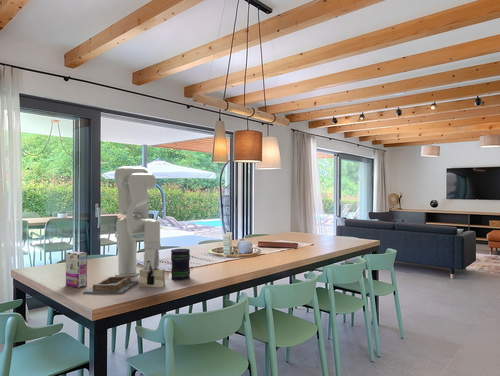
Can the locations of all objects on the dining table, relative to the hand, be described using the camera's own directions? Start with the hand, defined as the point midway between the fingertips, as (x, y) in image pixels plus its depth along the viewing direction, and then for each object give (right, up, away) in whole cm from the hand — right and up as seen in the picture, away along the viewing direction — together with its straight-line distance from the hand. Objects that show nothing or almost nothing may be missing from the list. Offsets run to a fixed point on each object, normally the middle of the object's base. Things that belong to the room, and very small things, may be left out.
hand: (152, 282), depth 175 cm
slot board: (-18, -2, -3) cm, 18 cm away
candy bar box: (-38, -2, +2) cm, 38 cm away
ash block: (0, -2, 0) cm, 2 cm away
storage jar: (+11, -2, +15) cm, 19 cm away
